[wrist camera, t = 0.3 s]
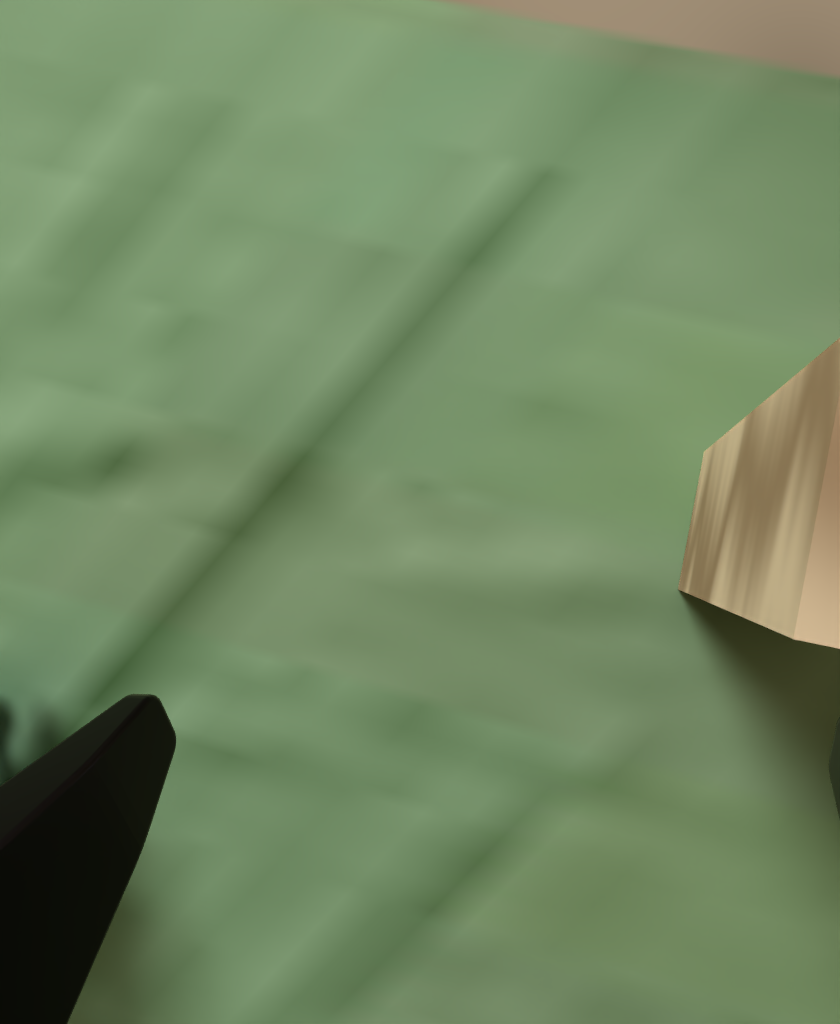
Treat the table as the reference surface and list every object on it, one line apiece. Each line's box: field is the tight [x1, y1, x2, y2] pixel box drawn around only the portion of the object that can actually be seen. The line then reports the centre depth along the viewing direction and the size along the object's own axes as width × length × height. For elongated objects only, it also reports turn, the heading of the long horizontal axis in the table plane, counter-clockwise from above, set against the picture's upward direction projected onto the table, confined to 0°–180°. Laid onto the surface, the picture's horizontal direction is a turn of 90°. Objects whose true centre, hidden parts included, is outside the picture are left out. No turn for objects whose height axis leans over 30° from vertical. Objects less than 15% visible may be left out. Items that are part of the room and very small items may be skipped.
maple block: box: [678, 338, 840, 649], centre depth 16 cm, size 4×4×13 cm
